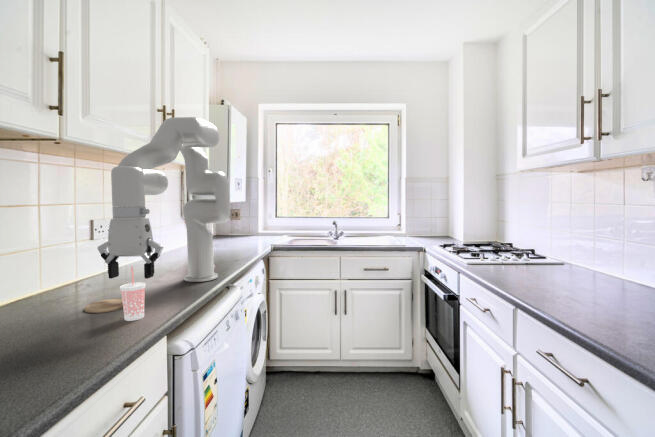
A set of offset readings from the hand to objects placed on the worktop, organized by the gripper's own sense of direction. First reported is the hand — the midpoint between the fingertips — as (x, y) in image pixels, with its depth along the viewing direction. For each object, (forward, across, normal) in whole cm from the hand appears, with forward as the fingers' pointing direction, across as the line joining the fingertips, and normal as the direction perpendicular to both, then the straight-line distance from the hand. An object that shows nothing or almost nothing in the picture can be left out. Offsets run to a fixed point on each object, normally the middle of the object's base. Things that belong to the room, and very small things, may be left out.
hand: (131, 277), depth 91 cm
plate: (+11, +14, -10) cm, 20 cm away
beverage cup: (+11, 0, -1) cm, 11 cm away
